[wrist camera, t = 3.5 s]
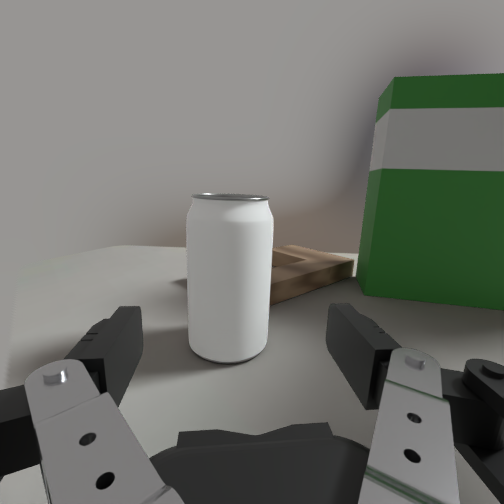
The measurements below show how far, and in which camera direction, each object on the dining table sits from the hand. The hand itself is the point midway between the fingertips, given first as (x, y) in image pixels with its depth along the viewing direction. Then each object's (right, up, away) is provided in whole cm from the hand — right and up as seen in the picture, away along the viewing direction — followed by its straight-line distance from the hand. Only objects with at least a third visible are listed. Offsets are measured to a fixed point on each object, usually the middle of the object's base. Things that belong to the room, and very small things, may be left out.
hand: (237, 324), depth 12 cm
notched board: (+4, -1, +28) cm, 28 cm away
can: (-1, -5, +12) cm, 13 cm away
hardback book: (+24, -2, +25) cm, 34 cm away
